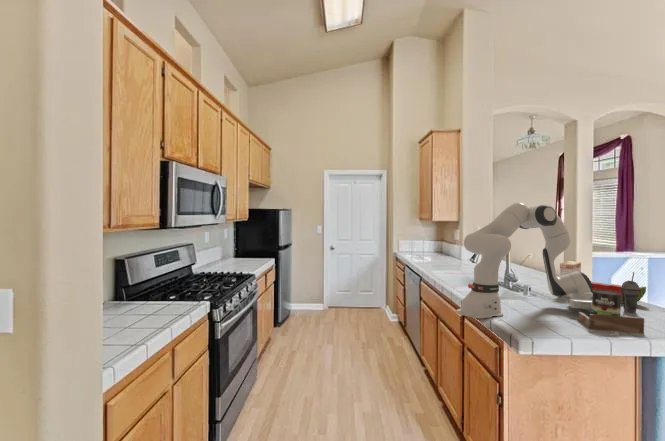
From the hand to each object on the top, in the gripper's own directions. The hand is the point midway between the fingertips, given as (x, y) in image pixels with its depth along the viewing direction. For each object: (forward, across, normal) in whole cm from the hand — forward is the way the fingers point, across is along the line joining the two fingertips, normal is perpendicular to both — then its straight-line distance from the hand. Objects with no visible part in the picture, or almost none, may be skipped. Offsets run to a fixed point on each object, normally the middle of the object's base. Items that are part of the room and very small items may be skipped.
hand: (600, 308), depth 167 cm
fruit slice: (-43, +23, +6) cm, 49 cm away
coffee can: (+5, 0, +6) cm, 8 cm away
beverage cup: (-20, +20, +6) cm, 29 cm away
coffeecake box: (-55, +5, +6) cm, 55 cm away
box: (+7, 0, +5) cm, 9 cm away
